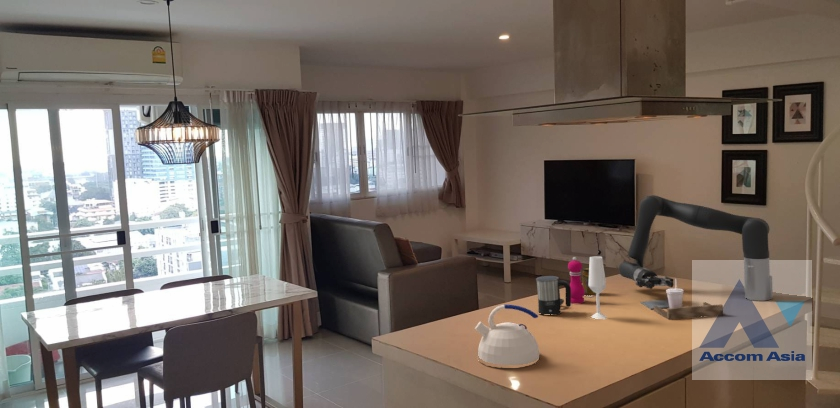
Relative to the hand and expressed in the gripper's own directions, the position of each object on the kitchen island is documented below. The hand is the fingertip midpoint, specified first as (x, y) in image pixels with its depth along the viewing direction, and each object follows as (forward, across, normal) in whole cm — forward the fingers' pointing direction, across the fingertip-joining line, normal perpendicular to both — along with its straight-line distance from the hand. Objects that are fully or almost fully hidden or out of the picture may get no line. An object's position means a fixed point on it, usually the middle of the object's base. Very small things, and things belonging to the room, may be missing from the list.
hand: (661, 285), depth 243 cm
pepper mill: (-19, -30, +10) cm, 36 cm away
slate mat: (-4, 0, +9) cm, 10 cm away
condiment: (-31, -21, +10) cm, 38 cm away
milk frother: (-8, -44, +10) cm, 45 cm away
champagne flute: (+7, -29, +10) cm, 31 cm away
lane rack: (+11, +5, +9) cm, 15 cm away
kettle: (+46, -72, +10) cm, 86 cm away
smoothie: (+11, 0, +9) cm, 15 cm away
